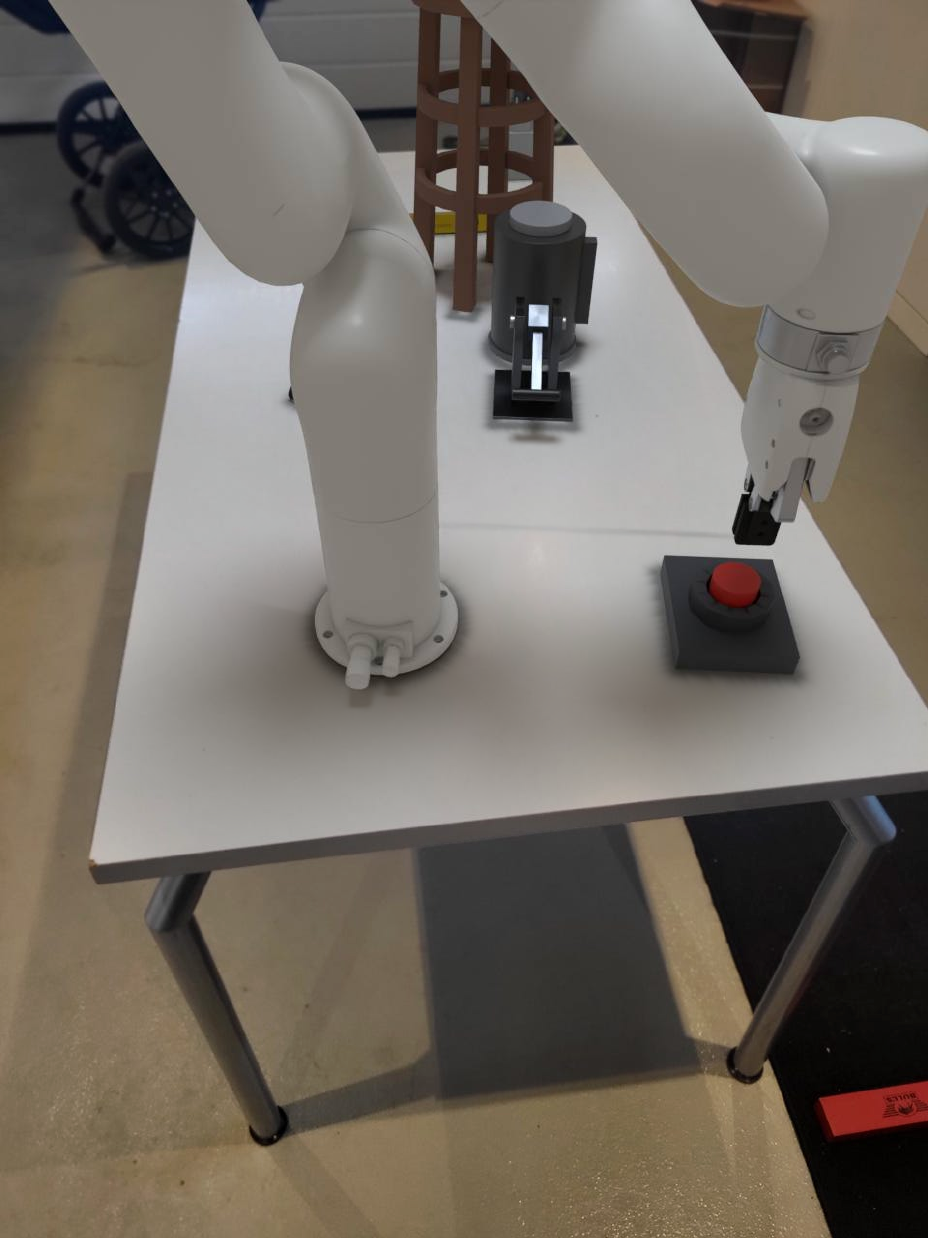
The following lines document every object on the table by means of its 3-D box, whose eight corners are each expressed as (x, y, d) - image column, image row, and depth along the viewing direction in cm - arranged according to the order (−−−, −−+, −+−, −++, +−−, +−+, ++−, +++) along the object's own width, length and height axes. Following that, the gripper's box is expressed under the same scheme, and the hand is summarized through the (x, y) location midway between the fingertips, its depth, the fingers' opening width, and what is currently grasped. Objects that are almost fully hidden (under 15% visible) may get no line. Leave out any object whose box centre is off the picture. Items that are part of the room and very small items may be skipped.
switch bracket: (572, 428, 99) (583, 331, 91) (492, 425, 100) (495, 328, 91) (569, 380, 106) (579, 286, 98) (494, 377, 106) (497, 283, 98)
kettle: (586, 374, 107) (603, 235, 95) (486, 370, 107) (490, 232, 95) (581, 321, 116) (596, 188, 104) (489, 318, 116) (493, 185, 104)
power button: (759, 609, 75) (764, 594, 74) (712, 607, 75) (716, 593, 74) (751, 576, 78) (756, 562, 76) (705, 575, 78) (710, 560, 77)
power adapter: (535, 178, 149) (541, 99, 141) (504, 179, 149) (507, 100, 140) (533, 171, 151) (537, 93, 143) (501, 172, 151) (504, 94, 142)
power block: (793, 674, 75) (806, 642, 72) (674, 669, 75) (683, 637, 72) (766, 576, 83) (778, 544, 80) (660, 571, 83) (667, 540, 80)
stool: (430, -45, 106) (591, -33, 102) (434, 245, 131) (563, 263, 128) (374, -8, 93) (557, 7, 89) (391, 307, 118) (534, 328, 115)
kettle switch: (558, 406, 94) (560, 393, 91) (511, 404, 94) (512, 392, 91) (560, 319, 97) (562, 305, 95) (514, 317, 97) (515, 303, 95)
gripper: (907, 394, 53) (819, 606, 67) (846, 280, 64) (780, 483, 77) (782, 391, 54) (719, 602, 67) (741, 278, 64) (693, 480, 77)
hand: (752, 538), depth 72 cm, fingers closed
